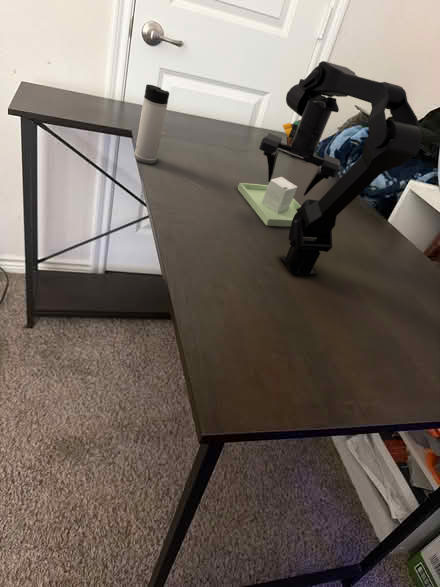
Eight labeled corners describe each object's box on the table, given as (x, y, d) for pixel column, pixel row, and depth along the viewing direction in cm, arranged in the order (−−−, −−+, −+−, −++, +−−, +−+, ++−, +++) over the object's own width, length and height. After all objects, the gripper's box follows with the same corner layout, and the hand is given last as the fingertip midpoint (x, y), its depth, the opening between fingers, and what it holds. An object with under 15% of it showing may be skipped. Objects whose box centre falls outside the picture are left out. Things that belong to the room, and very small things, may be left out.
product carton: (272, 199, 125) (281, 176, 121) (288, 209, 123) (298, 186, 118) (260, 203, 121) (269, 179, 116) (277, 213, 118) (287, 190, 114)
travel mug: (128, 157, 120) (140, 82, 108) (142, 152, 126) (155, 81, 113) (147, 166, 119) (160, 92, 107) (160, 161, 124) (174, 90, 112)
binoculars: (286, 154, 171) (279, 117, 162) (321, 144, 169) (316, 106, 160) (292, 168, 160) (285, 129, 151) (329, 158, 158) (325, 118, 149)
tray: (311, 227, 119) (314, 221, 118) (266, 225, 112) (268, 219, 111) (280, 192, 132) (282, 186, 131) (237, 188, 125) (239, 182, 124)
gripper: (352, 131, 101) (324, 190, 111) (278, 104, 103) (257, 165, 112) (351, 143, 92) (321, 206, 102) (270, 113, 94) (248, 178, 103)
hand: (286, 188), depth 105 cm, fingers open, 9 cm apart
